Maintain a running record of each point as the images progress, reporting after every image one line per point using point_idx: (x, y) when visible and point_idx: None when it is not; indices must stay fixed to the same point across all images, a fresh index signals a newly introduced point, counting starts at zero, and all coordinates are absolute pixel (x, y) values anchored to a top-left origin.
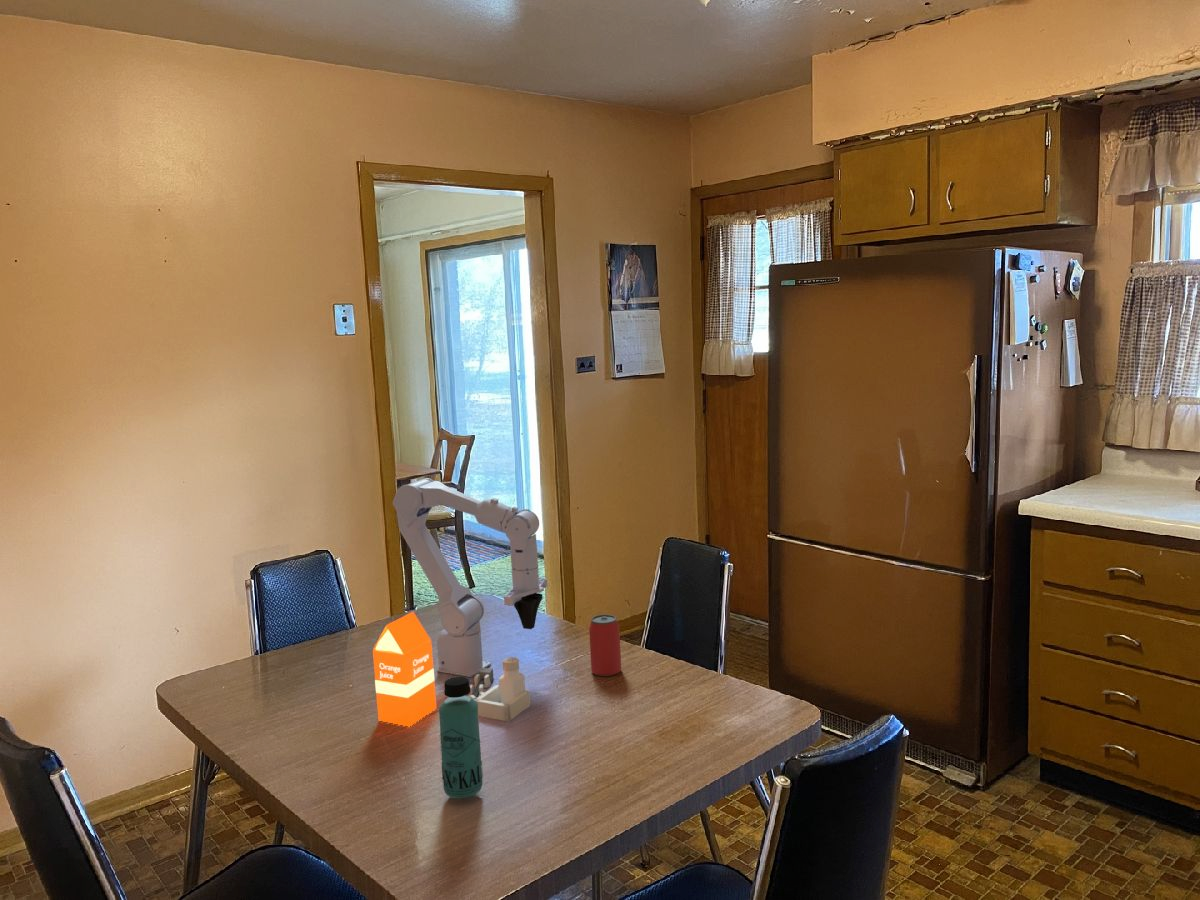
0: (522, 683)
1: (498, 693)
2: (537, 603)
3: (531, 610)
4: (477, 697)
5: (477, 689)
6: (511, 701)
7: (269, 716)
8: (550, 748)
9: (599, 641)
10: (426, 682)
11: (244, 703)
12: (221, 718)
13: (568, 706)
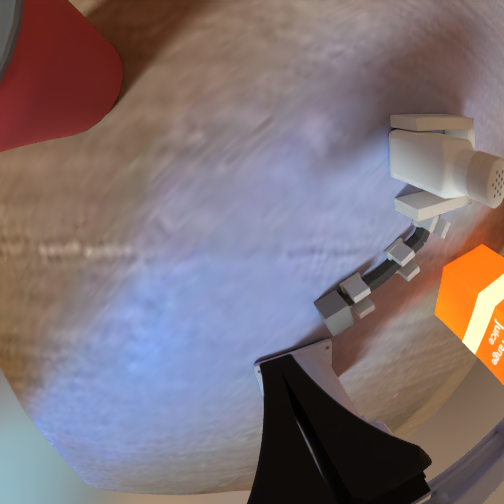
0: (438, 136)
1: (413, 202)
2: (305, 479)
3: (361, 427)
4: (411, 242)
5: (394, 267)
6: (459, 125)
7: (458, 363)
8: (458, 5)
9: (81, 20)
10: (494, 286)
11: (437, 395)
12: (459, 377)
13: (347, 23)
